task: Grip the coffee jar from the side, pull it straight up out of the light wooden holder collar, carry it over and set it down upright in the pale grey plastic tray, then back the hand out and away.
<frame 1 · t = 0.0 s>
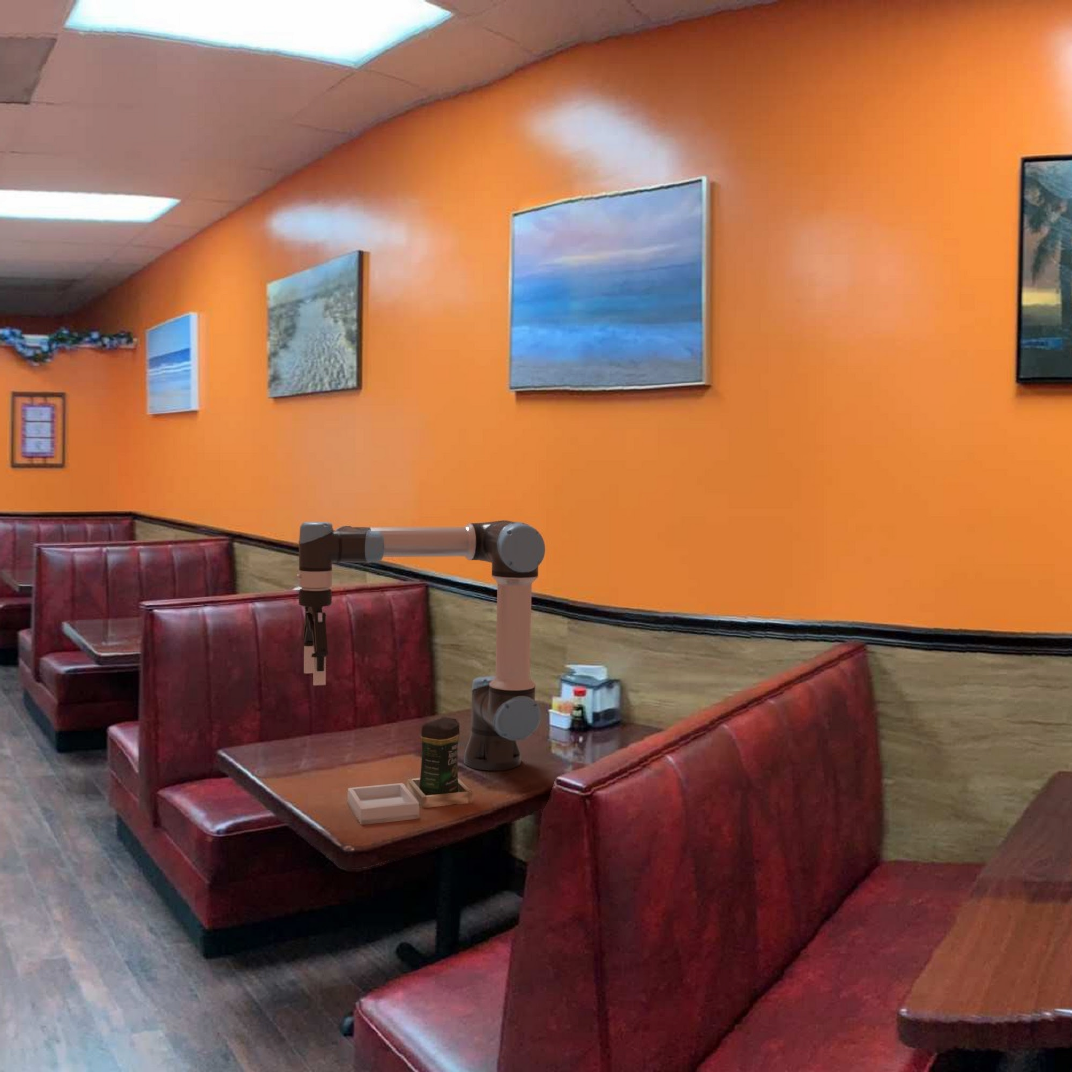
hand: (314, 678, 237), 28 cm above the table, tool pointing down, fingers open, 13 cm apart
parts tray: (382, 810, 230), on the table
coffee jar: (439, 796, 242), resting in holder collar
holder collar: (439, 796, 241), on the table
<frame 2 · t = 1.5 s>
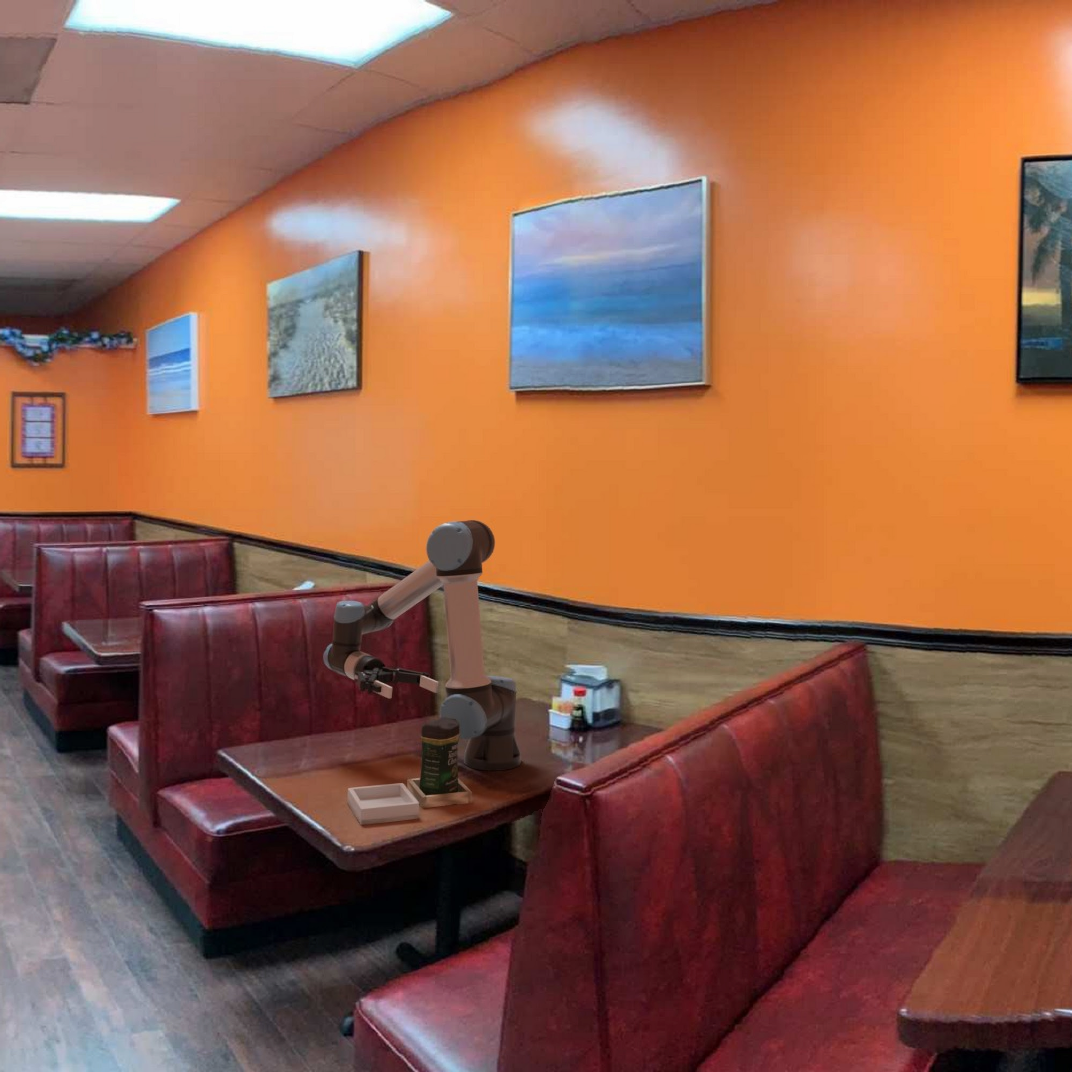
hand: (415, 690, 248), 24 cm above the table, tool horizontal, fingers open, 13 cm apart
nothing on the table moved.
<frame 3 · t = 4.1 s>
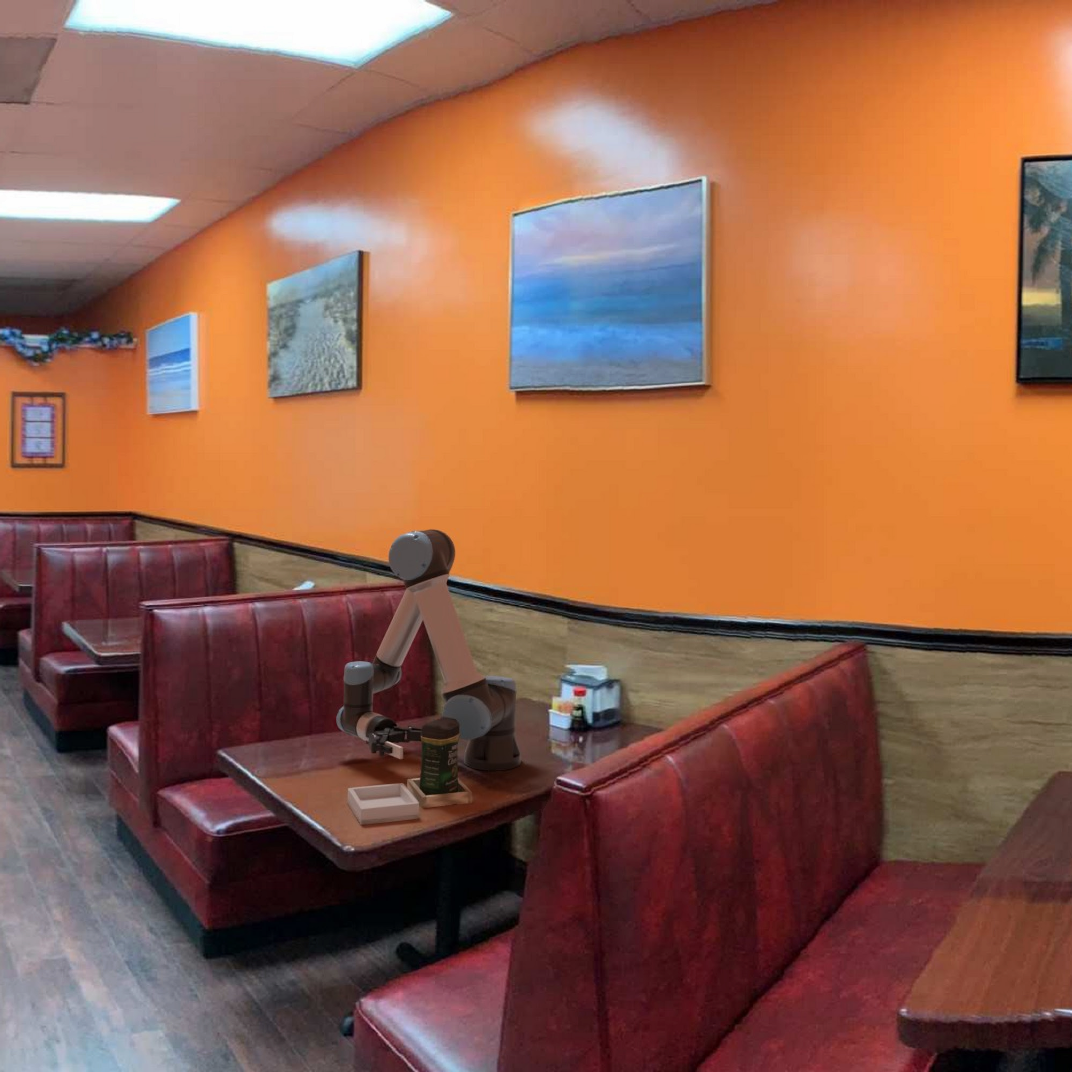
hand: (425, 748, 244), 10 cm above the table, tool horizontal, fingers open, 13 cm apart
nothing on the table moved.
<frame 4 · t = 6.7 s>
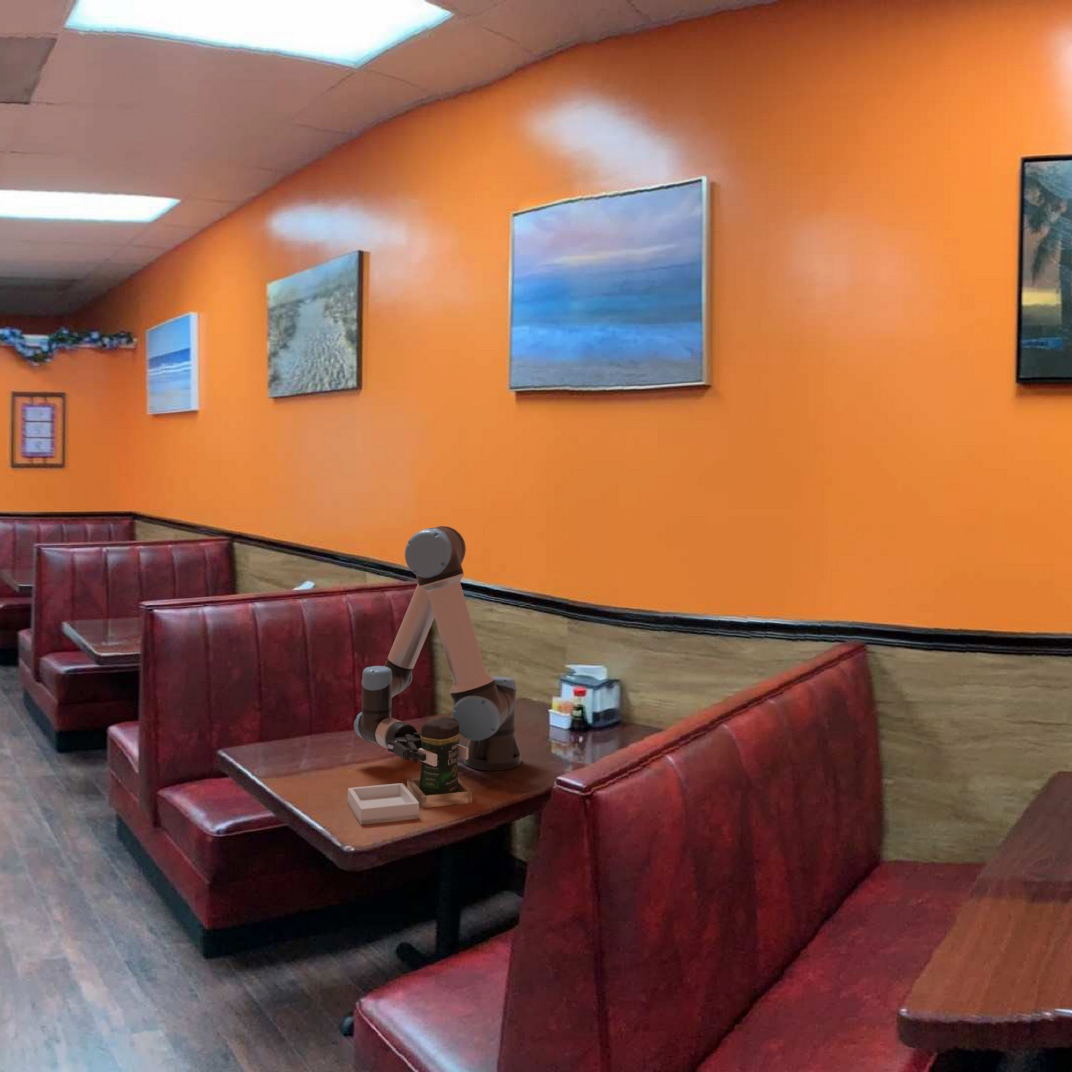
hand: (451, 757, 237), 11 cm above the table, tool horizontal, fingers closed on coffee jar, 8 cm apart
coffee jar: (439, 796, 242), resting in holder collar, touching gripper
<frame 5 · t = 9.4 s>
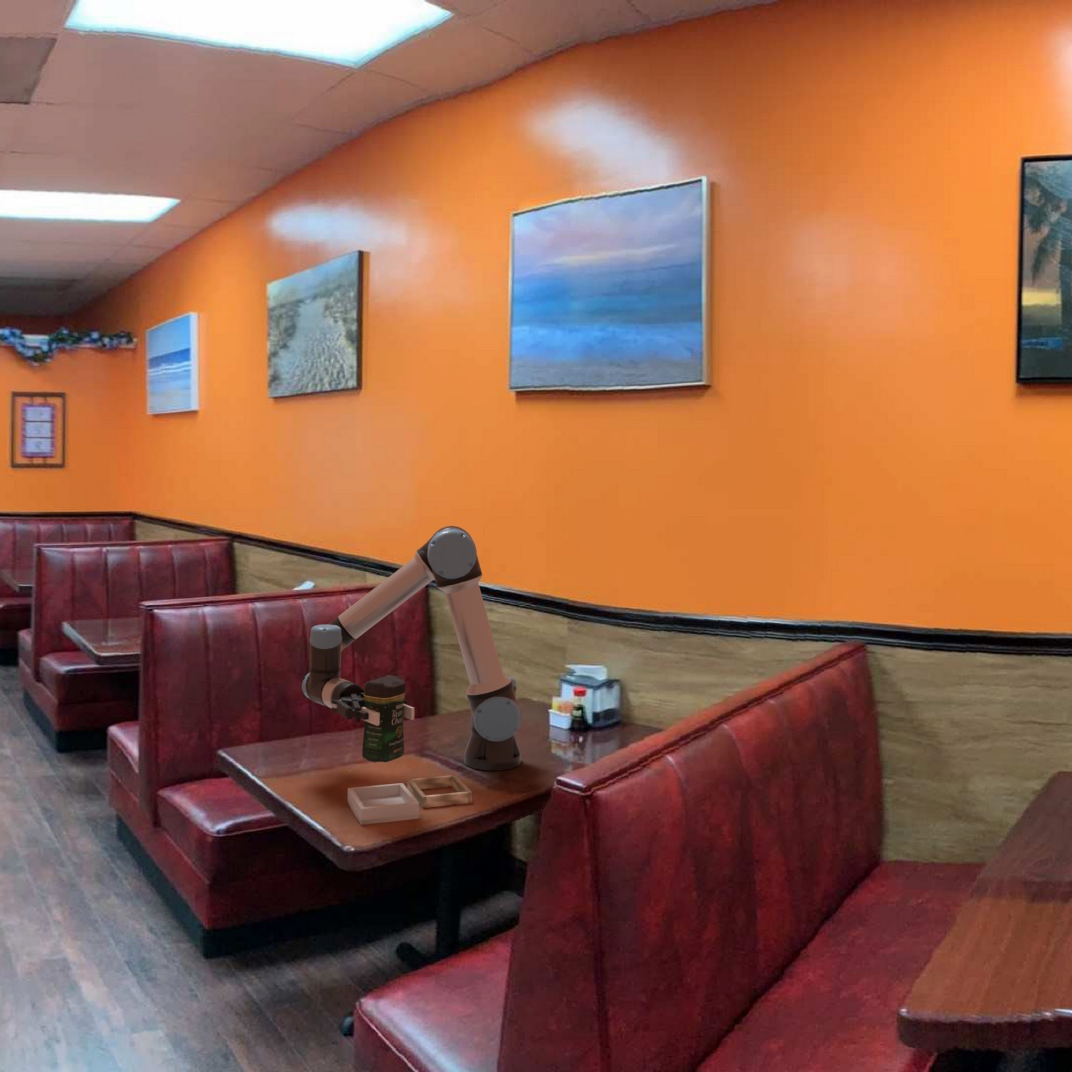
hand: (395, 716, 226), 22 cm above the table, tool horizontal, fingers closed on coffee jar, 8 cm apart
coffee jar: (383, 758, 231), point 12 cm above the table, touching gripper
when the fingers open (13 cm above the table, at t = 12.1 s): coffee jar stays where it is, resting on parts tray.
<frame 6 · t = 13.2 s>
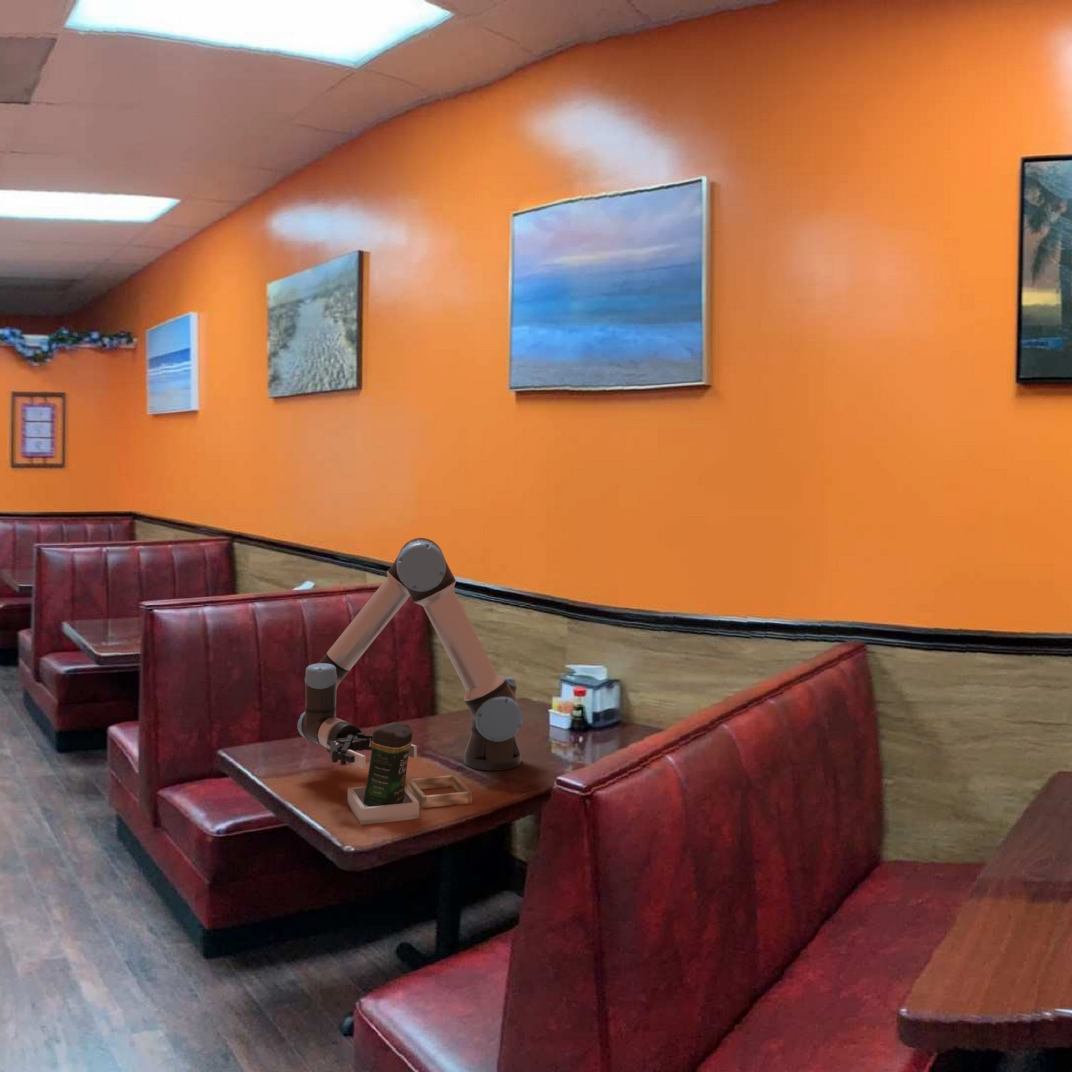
hand: (390, 757, 227), 13 cm above the table, tool horizontal, fingers open, 13 cm apart
coffee jar: (383, 805, 230), point 1 cm above the table, touching parts tray
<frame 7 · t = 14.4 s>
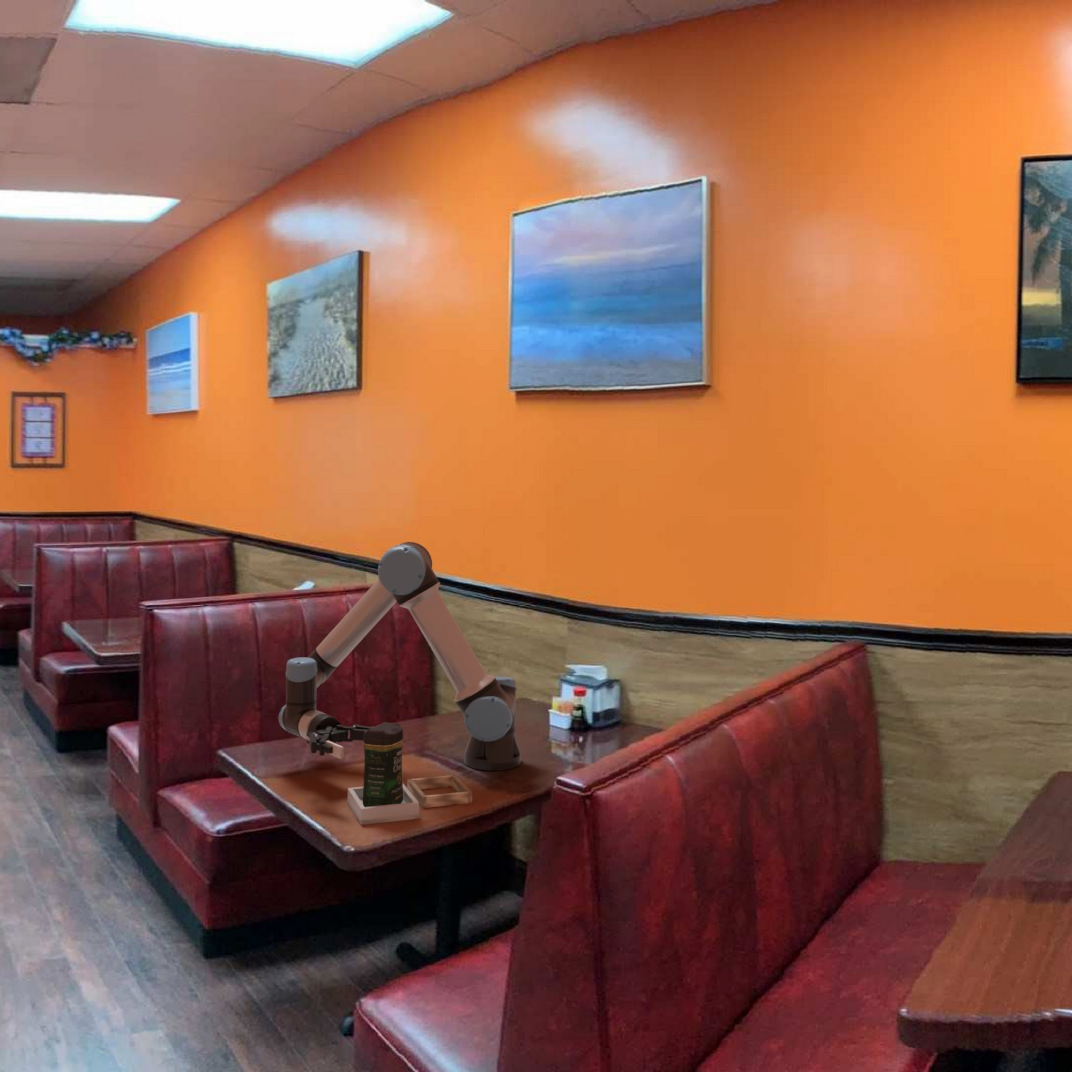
hand: (367, 748, 234), 13 cm above the table, tool horizontal, fingers open, 13 cm apart
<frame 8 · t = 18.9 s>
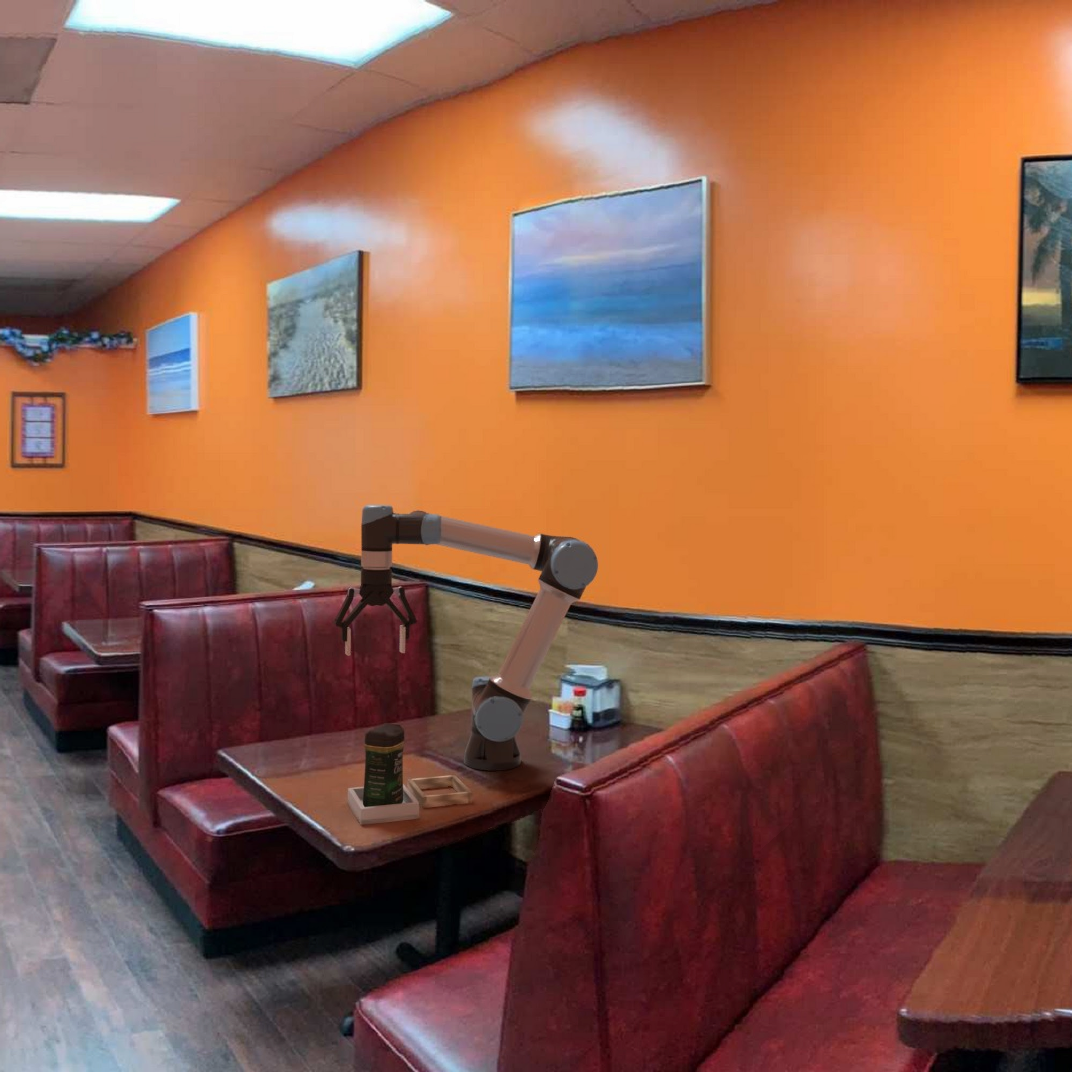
hand: (375, 653, 251), 32 cm above the table, tool pointing down, fingers open, 13 cm apart
at the end: coffee jar inside the target area on the parts tray (0.2 cm from its centre), point 0.8 cm above the parts tray's base; coffee jar tilted 0°; the gripper is holding nothing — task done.
